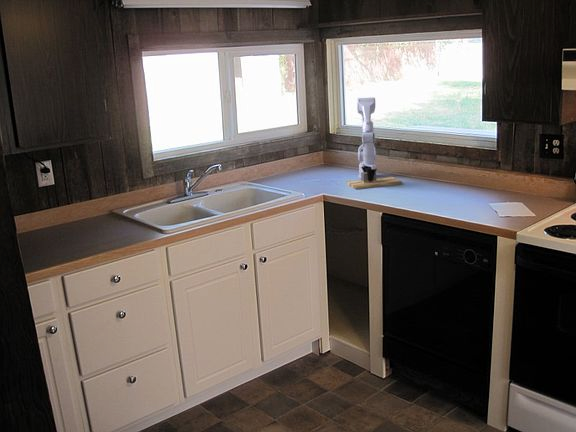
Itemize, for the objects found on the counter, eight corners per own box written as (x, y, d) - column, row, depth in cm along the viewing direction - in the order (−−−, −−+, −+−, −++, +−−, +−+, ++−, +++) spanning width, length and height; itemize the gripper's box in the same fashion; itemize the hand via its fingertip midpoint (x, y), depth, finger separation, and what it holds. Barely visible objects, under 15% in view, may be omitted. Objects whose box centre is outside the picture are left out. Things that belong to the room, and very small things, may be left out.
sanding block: (361, 181, 333) (360, 172, 332) (373, 180, 335) (373, 171, 333) (363, 183, 329) (363, 173, 328) (376, 182, 331) (376, 172, 330)
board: (346, 184, 337) (346, 181, 336) (391, 179, 343) (391, 176, 342) (355, 189, 324) (355, 186, 323) (402, 184, 329) (402, 181, 329)
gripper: (356, 153, 334) (357, 178, 338) (366, 157, 321) (367, 183, 324) (369, 152, 336) (369, 177, 339) (379, 156, 322) (379, 182, 326)
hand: (369, 180), depth 332 cm, fingers closed on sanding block, 4 cm apart
